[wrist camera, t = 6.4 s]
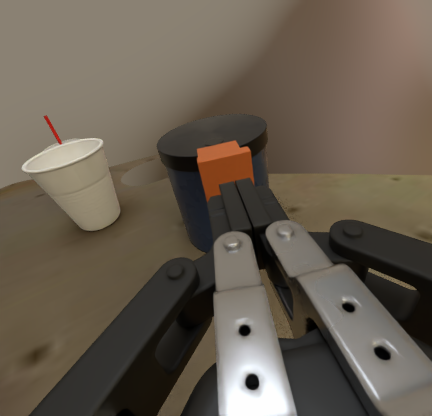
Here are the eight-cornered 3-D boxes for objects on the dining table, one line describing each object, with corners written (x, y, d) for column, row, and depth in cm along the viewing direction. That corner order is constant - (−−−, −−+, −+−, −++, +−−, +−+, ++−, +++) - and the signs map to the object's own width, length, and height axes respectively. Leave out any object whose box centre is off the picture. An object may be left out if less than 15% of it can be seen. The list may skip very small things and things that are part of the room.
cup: (122, 194, 44) (93, 133, 37) (143, 216, 36) (111, 146, 30) (63, 221, 40) (20, 158, 33) (74, 252, 32) (21, 180, 26)
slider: (255, 193, 16) (250, 150, 14) (207, 204, 16) (197, 162, 14) (238, 159, 21) (233, 123, 19) (201, 167, 21) (192, 133, 19)
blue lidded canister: (286, 243, 27) (283, 137, 20) (187, 265, 27) (151, 166, 20) (259, 192, 36) (251, 107, 29) (185, 209, 36) (159, 127, 29)
